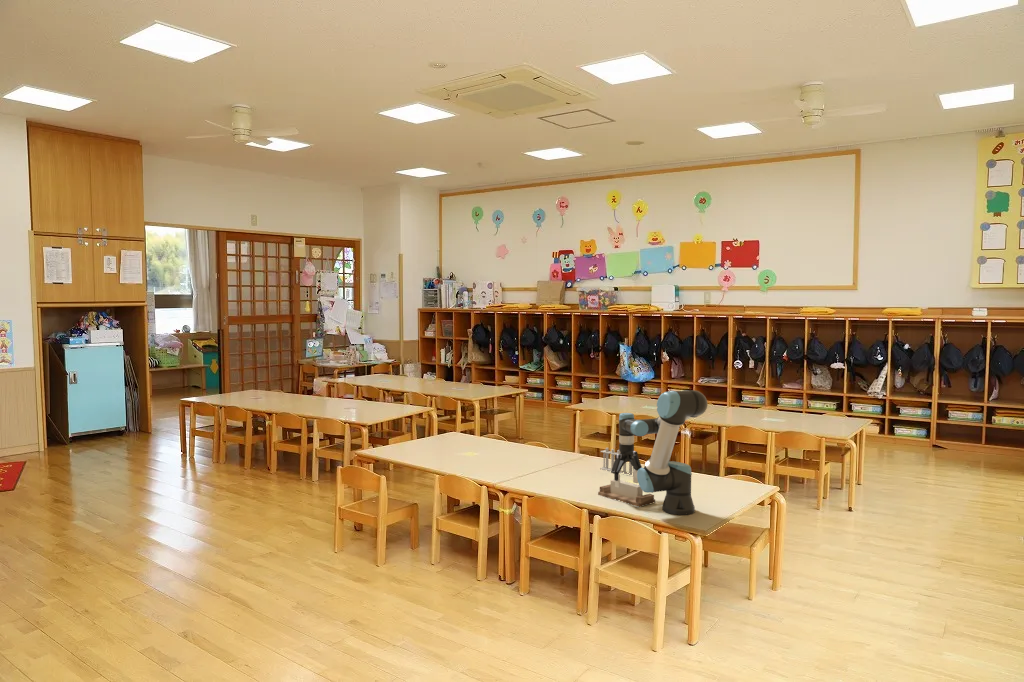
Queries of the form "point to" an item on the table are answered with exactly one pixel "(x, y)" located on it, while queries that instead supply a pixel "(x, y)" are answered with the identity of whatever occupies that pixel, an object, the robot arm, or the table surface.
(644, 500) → the brown notched plank
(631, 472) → the test tube rack
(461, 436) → the table surface
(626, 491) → the grey rectangular block
